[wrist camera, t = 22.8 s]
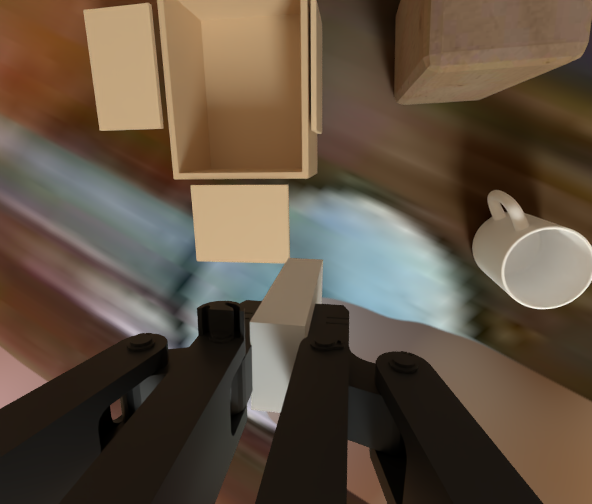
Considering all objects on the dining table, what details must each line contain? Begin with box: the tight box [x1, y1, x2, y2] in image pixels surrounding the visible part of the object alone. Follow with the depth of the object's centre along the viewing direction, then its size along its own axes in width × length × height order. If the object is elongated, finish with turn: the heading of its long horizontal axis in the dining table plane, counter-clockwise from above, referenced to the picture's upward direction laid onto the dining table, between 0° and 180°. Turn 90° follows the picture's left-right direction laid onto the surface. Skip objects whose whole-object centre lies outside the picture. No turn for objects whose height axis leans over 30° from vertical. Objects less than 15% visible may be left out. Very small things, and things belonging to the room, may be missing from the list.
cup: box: [472, 190, 592, 309], centre depth 41 cm, size 8×12×10 cm
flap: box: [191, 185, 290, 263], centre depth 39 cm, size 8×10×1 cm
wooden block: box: [394, 0, 592, 105], centre depth 32 cm, size 10×10×20 cm
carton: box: [157, 0, 322, 179], centre depth 41 cm, size 19×15×10 cm
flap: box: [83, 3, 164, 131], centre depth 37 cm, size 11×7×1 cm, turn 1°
